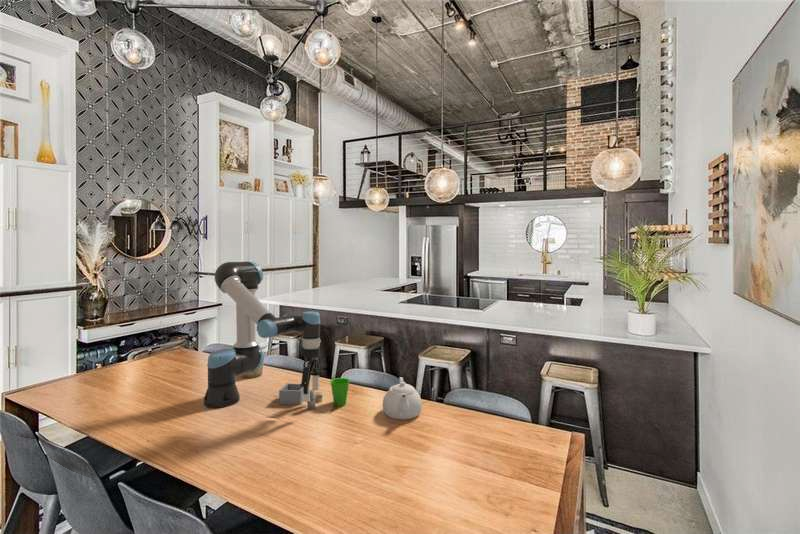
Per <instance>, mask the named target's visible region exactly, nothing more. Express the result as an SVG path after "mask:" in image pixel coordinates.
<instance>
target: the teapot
mask: <svg viewBox="0 0 800 534" xmlns="http://www.w3.org/2000/svg"><path fill="white" fill-rule="evenodd" d="M398 380H399V383H397V384H394V385H392V386H391V387H390V388H389V389H388V390H387V392H386V393H385V395H384V397H383V400H382V411H383V413H384V414H385V416H387V417H388V418H390V419H394V420H400V421H401V420H411V419H414V418H415V419H416V418H417V417H418V416H419V415H420V414H421V412H422V408H423V407H422V406H423V403H422V399H421V395H420V394H419V393H418V391H417V390H416V388H415V387H414V386H412V385H411V384H408V383H406V382H405V381H404V377H401V376H400V377H399V379H398Z"/></svg>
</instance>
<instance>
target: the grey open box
mask: <svg viewBox="0 0 800 534" xmlns="http://www.w3.org/2000/svg"><path fill="white" fill-rule="evenodd" d="M278 391H279V392H278V395H279V397H278V401H279V402H278V404H279V405H280V404H283V405H302V404H303V403H304V401H303V386H301V383H293V382H291V383H290V382H288V383H285V385H283V386H282V387H281V388H280V389H279V390H278Z"/></svg>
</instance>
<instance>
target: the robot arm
mask: <svg viewBox="0 0 800 534" xmlns="http://www.w3.org/2000/svg"><path fill="white" fill-rule="evenodd" d="M263 279H264V273H263V269H262V267H261V266H259V264H258V263H257V262H254V261H227V262H225V263H222V264H220V265H219V266H218V267H217V269H216V270H215V271H214V283H215V285H216V287H218V289H219V290H220V291H221V292H222V293H223V294H227V295H228V296H229V297H230V298H231V299H232V300H233V301H234V302H235V311H236V314H235V315H236V316H235V318H236V320H235V321H236V322H235V323H236V342H235V343H234V344H233V348H224V349H219V350H216V351H213V352H212V353H210V354H209V355H208V357H207V364H206V365H207V388H206V392H205V395H204V397H203V406H204V407H205V408H206V407H207V408H209V409H212V408H213V409H215V408H216V409H217V408H218V409H219V408H225V407H231V406H233V405H236V404H237V403H239V401H240V400H241V399H240V392H239V389H238V387H237V385H236V376H240V375H242V374H243V373H246V372H251V371H253V370H255V369H258V368H259V367H260V366H261V365H262V363H263V364H264V362H263V361H264V360H265V353H264V350H263V348H262V347H261V346H260V344H259V342H258V341H257V340H256V332H257V335H258V336H259V338H262V339H267V338H273V337H277V336H280V335H285V334H286V335H287V334H291V333H300V334H301V333H302V334H301V335H302V336H301V337H302V340H301V342H302V343H301V347H302V351H301V352H302V353H301V355H302V357H303V358H305V359H306V360H305V361H304V362H303V369H302V376H301V382H300V384H301V386H303V402H308V401H310V390H314V391H319V390H320V389H319V388H320V386H319V385H320V384H319V383H320V382H319V379H320V376H321V374H322V373H321V367H320V362H319V357H320V355H321V348H320V346H321V343H322V340H321V336H320V335H321V317H320V316H321V315H320V312H318V311H304V312H302V314H301V315H299V314H294V313H290V314H289V313H286V314H284V315H282V316H279V317H276V316H275V315H274V314H273V313H272V312H271V311H270V310H269V309H268V308H267V307H266V306H265V305H264V304H263V303H262V301H260V300H259V299H258V298H257V297H256V295H255V294H256V292H257V290H258V289H259V285H260V284H261V283H262V281H263ZM311 377H312V378H311ZM311 379H312V386H311V387H312V389H311V387H310V381H311Z"/></svg>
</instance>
